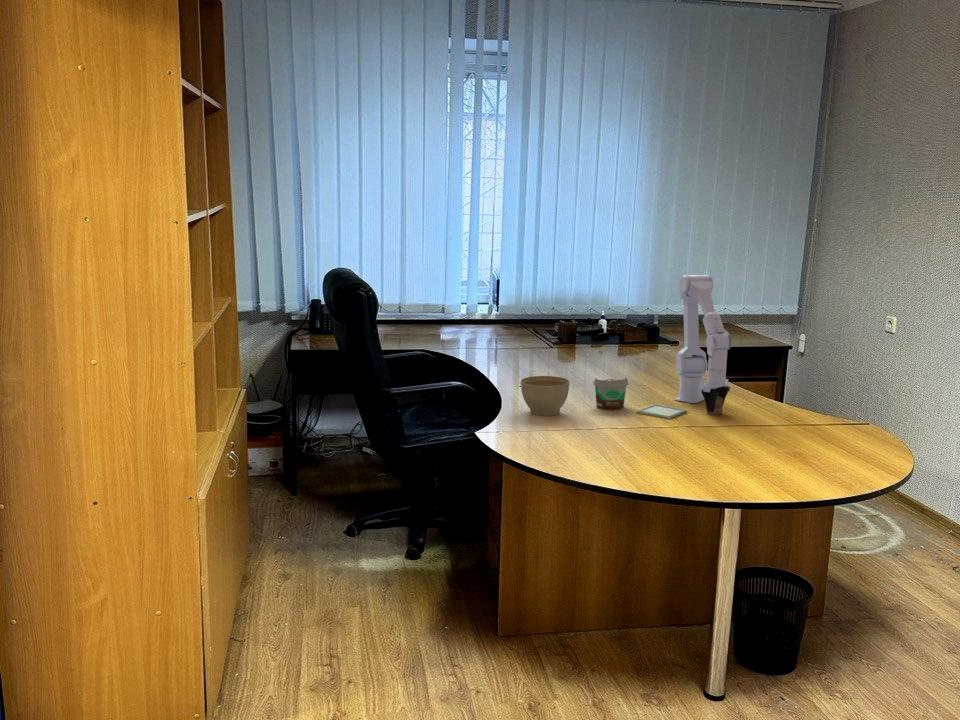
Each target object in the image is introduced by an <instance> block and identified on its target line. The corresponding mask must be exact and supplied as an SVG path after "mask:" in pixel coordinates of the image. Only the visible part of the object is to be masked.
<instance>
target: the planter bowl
mask: <svg viewBox="0 0 960 720" xmlns="http://www.w3.org/2000/svg"><path fill="white" fill-rule="evenodd" d="M570 384H571V381H570V379H568V378H565V377H561V376H554V375H533V376H527V377H526V376H525V377H523V378H522V379H520V387H521V394H522V398H523V401H524V402H525V405H527V407H528V409H529V412H530V413H531V414H532V415H535V416H545V417H547V416H556V415H558V414H559V413H560V412H561V411H560V410H561V408H562V407H563V406H564V405H565V403H566V401H567V398H568V395H569V391H570Z"/></svg>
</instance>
